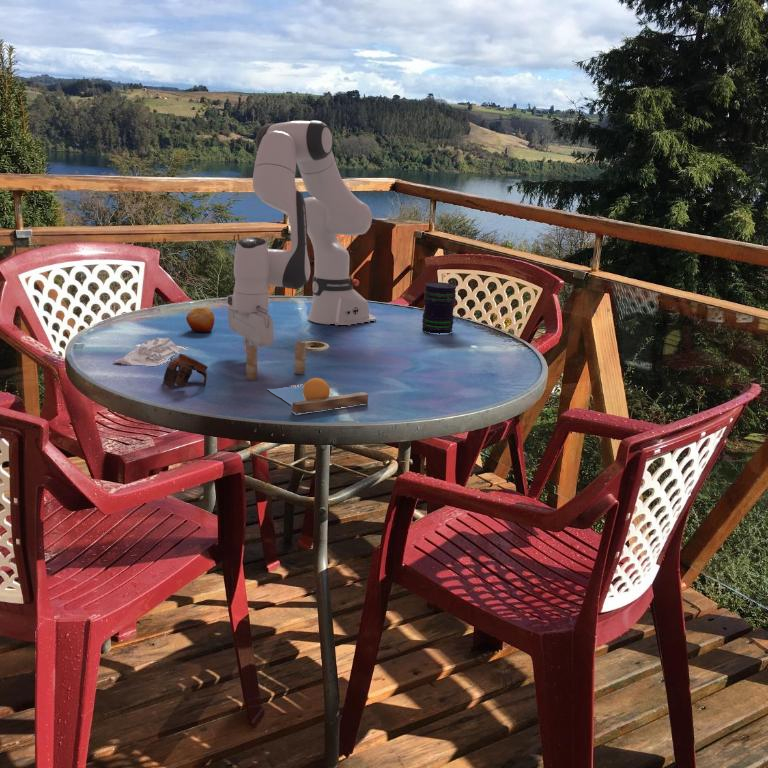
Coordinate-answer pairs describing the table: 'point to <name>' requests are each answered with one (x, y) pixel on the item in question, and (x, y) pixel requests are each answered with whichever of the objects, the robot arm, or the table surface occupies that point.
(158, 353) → the terrain model
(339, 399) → the stopper wall
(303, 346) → the post
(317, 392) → the ball
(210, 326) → the fruit
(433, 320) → the storage jar
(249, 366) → the post
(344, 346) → the table surface
